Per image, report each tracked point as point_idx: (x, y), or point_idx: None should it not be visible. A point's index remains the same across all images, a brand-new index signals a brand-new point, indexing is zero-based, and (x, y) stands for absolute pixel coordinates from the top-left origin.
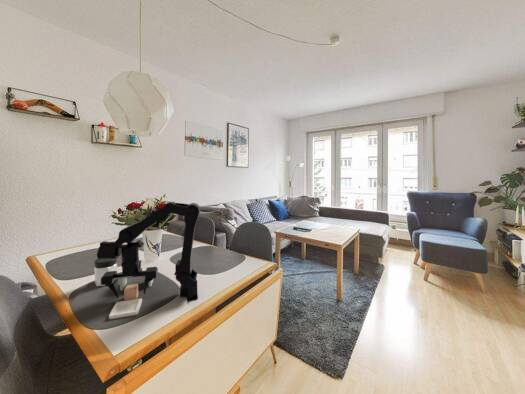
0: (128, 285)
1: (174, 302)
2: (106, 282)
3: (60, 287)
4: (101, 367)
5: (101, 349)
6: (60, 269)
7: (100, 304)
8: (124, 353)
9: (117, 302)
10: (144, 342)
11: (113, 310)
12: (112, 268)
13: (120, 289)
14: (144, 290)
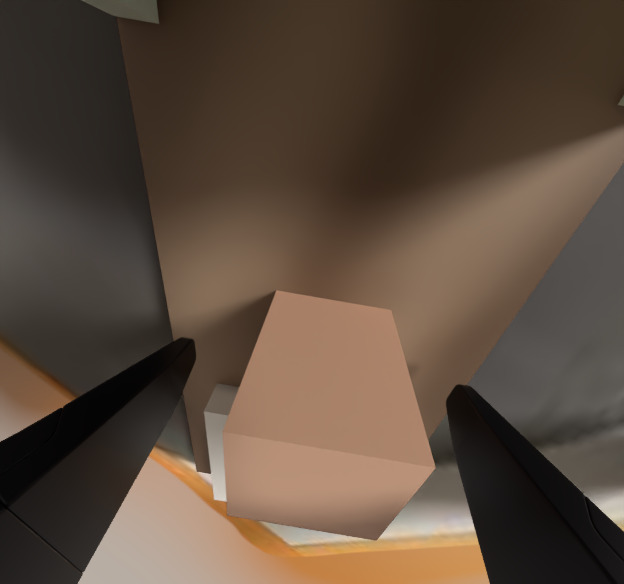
0: (260, 453)
1: (603, 454)
2: None
3: None
4: (268, 552)
5: (249, 524)
6: None
7: (56, 247)
8: (315, 549)
9: (216, 419)
10: (368, 548)
11: (222, 476)
12: None
13: (107, 12)
14: (470, 474)
